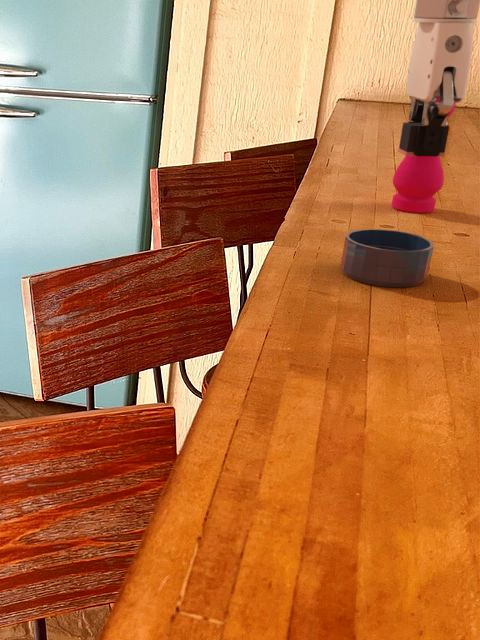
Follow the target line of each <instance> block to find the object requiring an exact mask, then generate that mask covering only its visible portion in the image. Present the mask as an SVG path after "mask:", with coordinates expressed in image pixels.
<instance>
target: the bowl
mask: <svg viewBox="0 0 480 640" xmlns="http://www.w3.org/2000/svg"><path fill="white" fill-rule="evenodd" d="M434 248H435V243H434V242H433V241H432V240H431V239H429V238H426V237H424V236H421V235H418V234H414V233H411V232H405V231H400V230H395V229H394V230H393V229H381V228H362V229H356V230H351V231H349V232H347V233H346V234H345V238H344V244H343V249H342V255H341V261H340V262H341V263H340V269H341V270H342V272H343V274H344V275H345V276H346V277H348V278H349V279H352V280H353V281H356V282H358V283H363V284H366V285H371V286H376V287H384V288H385V287H386V288H410V287H415V286H418V285H419V286H420V284H422V283H423V281H424V280H426V279H428V277H429V276H428V275H429V270H430V267H431V261H432V256H433V253H434Z"/></svg>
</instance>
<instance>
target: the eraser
mask: <svg viewBox="0 0 480 640" xmlns="http://www.w3.org/2000/svg"><path fill="white" fill-rule="evenodd" d="M418 126H422V123H408V122H402V128H401V134H400V138H399V139H400V140H399V145H398V153H400V154H402V155H404V156H415V155H414V149H415V143H416V137H417V131H418ZM449 131H450V125H445V127H444V133H443V138H442V143H441V149H440V154H439V156H440V157H444V156H445V153H446V146H447V143H448V142H447V141H448V137H449V136H448V135H449Z"/></svg>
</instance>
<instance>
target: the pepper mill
mask: <svg viewBox="0 0 480 640" xmlns="http://www.w3.org/2000/svg"><path fill="white" fill-rule="evenodd" d="M436 101H439V102H440V98H436ZM456 104H457V103H456V102H453V108H452V109H451V110H450V111H449V114H448V115H447V119H448V118H450V116H451V115H452V114H454V112H455V109H456ZM434 107H437V106H434ZM448 124H449V123H448V121H446V125H447V126H449V125H448ZM444 175H445V174H444V168H443V164H442V161H441V156H436V157H434V156H406V155H404V158H403V159H402V160H401V162H400V163H399V164H398V166H397V168H396V170H395V171H394V174H393V176H392V185H393V187H394V188H395V190H396V191H397V192H396V193H395V194H394V195H392V199H391V204H390V205H391V207H392V208H393V209H394V210H397V211H400V212H405V213H412V214H429V213H432V212H434V211H435V208H436V203H437V199H436V198H435V197H434V196H435V195H436V194H437V193H438V192H440V191H441V189H442V188H443V186H444V179H445V176H444Z"/></svg>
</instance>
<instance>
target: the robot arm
mask: <svg viewBox="0 0 480 640" xmlns="http://www.w3.org/2000/svg"><path fill="white" fill-rule="evenodd" d="M479 10H480V0H416V2H415V7H414V13H413V20H412V22H413V23H418V25H417V28H416V33H415V35H414V41H413V46H412V49H411V55H410V59H409V63H408V69H407V77H406V84H405V86H406V87H405V91H406V95H408V96H409V99H410V109H409V113H408V122H407V123H422V126H418V131H417V137H416V143H415V149H414V155H415V156H434V157H436V156H439V154H440V149H441V143H442V138H443V133H444V127H445V125H446V122H448V118H447V115H448V114H449V111H450V110H451V109H452V108H453V102H456V103H455V104H458V103H461V102H462V101H464V100H465V98H466V94H467V88H468V81H469V75H470V69H471V61H472V52H473V41H474V23H477V20H478V16H479V12H480V11H479ZM436 98H440V102H439V101H436ZM434 106H437V107H434Z"/></svg>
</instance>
